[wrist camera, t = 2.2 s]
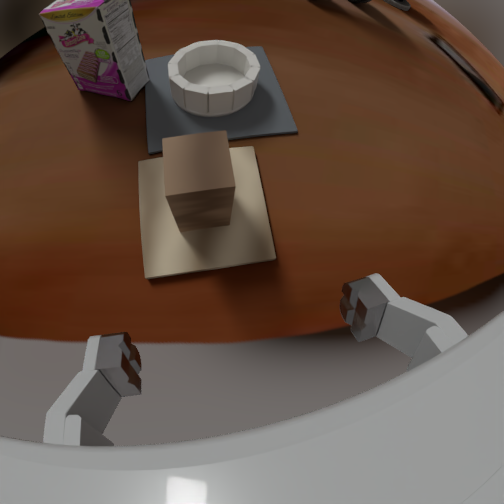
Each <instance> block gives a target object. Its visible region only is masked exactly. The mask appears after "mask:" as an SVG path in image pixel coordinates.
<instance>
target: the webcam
mask: <svg viewBox="0 0 504 504" xmlns="http://www.w3.org/2000/svg"><path fill="white" fill-rule="evenodd" d="M384 1H385V2H387V3H389V4H391V5H393V6H395V7H397V8H399V9H402V10H406V11H408V10H409V9H410V4H409V3H408V2H407V1H406V0H384Z"/></svg>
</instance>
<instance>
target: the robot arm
mask: <svg viewBox="0 0 504 504" xmlns="http://www.w3.org/2000/svg"><path fill="white" fill-rule="evenodd" d="M342 292H343V294H344V296H343V297H342V298H341V300H340V312H341V315H342V317H343V319H344V321H345V322H346V323H348V324H350V325H352V326H351V331H352V333H353V334H354V336H355V337H356V339H357V340H358V342H360V341H363V340H366V339H369V338H372V337H374V336H377V337H378V338H380V339H381V340H383V341H385V342H386V343H388V344H390V345H391V346H393V347H395V348H396V349H398V350H400V351H401V352H403V353H405V354H406V355H408V356H410V357H411V358H412V359H411V361H410V363H409V365H408V367H407V372H406V373H403V374H401V375H399V376H397V377H395V378H393V379H391V380H389V381H387V382H385V383H383V384H381V385H378V386H376V387H374V388H372V389H369V390H367V391H365V392H362V393H360V394H358V395H355V396H353V397H350V398H348V399H345V400H342V401H340V402H337V403H334V404H332V405H329V406H326V407H324V408H321V409H318V410H315V411H312V412H309V413H306V414H302V415H299V416H296V417H293V418H289V419H286V420H283V421H279V422H276V423H272V424H268V425H264V426H260V427H256V428H252V429H248V430H243V431H238V432H234V433H229V434H224V435H218V436H213V437H208V438H202V439H194V440H187V441H179V442H171V443H161V444H149V445H133V446H114V444H113V443H112V442H111V441H110V440H109V439H107V438H106V437H105V436H103V435H102V434H103V432H104V430H105V428H106V426H107V424H108V422H109V421H110V419H111V417H112V415H113V413H114V411H115V409H116V407H117V405H118V404H119V402H120V400H121V397H125V396H133V395H140V394H141V378H140V377H139V375H138V374H139V372H140V371H141V359H140V355H139V352H138V350H137V348H136V346H134V345H133V344H131V337H130V336H129V334H128V332H120V333H112V334H104V335H99V336H90V338H89V339H88V343H87V348H86V353H85V358H84V364H83V370H82V371H81V372H79V373H78V374H77V375H76V376H75V377H74V379H73V380H72V381H71V383H70V384H69V385H68V386H67V388H66V389H65V390H64V391H63V393H62V394H61V395H60V397H59V398H58V399H57V400H56V402H55V403H54V405H53V406H52V407H51V408H50V410H49V411H48V412H47V414H46V422H45V429H44V437H43V438H44V439H43V443H42V442H34V441H27V440H20V439H14V438H9V437H4V436H0V504H504V311H502V312H501V313H500V314H498V315H497V316H496V317H495V318H493V319H492V320H490V321H489V322H488V323H486V324H485V325H484V326H482V327H481V328H479V329H478V330H476V331H475V332H473V333H472V334H471V335H469V336H468V335H467V334H466V332H465V331H464V330H463V329H462V328H461V327H460V326H459V324H458V323H457V322H456V321H455V320H454V319H453V318H452V317H451V316H450V315H447V314H445V313H443V312H440V311H437V310H435V309H432V308H430V307H428V306H425V305H423V304H420V303H418V302H415V301H413V300H410V299H408V298H405V297H402V298H401V297H400V296H399V295H398V294H397V293H396V292H395V291H394V290H393V289H392V287H391V286H390V285H389V284H388V283H387V282H386V281H385V280H384V279H383V278H382V276H381V275H379V274H377V273H376V274H373V275H370V276H367V277H363V278H360V279H357V280H353V281H350V282H346V283H344V285H343V286H342Z"/></svg>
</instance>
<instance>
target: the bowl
mask: <svg viewBox="0 0 504 504" xmlns="http://www.w3.org/2000/svg"><path fill="white" fill-rule="evenodd" d="M259 72H260V64H259V62H258V60H257V57H256V55H255V54H254V53H253V52H252V51H250V50H248V49H247V48H245V47H244V46H242V45H241V44H240V45H239V44H238V43H233V42H228V41H223V40H219V41H218V40H210V41H201V42H198V43H193V44H191V45H189V46H187V47H184V48H182V49H180V50H179V51H177V52H176V54H175V55H174V56H173V57H172V59H171V60H170V61H169V62H168V73H169V82H170V88H171V95H172V98H173V100H174V102H175V103H176V104H177V105H178V106H179V107H180V108H181V109H182V110H184V111H186V112H188V113H190V114H193V115H196V116H202V117H221V116H226V115H230V114H233V113H235V112H237V111H239V110H241V109H243V108H244V107H245V106H246V105H248V104H249V102H250V101H251V100H252V98H253V95H254V91H255V89H256V87H257V82H258V77H259Z"/></svg>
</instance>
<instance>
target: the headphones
mask: <svg viewBox="0 0 504 504" xmlns="http://www.w3.org/2000/svg"><path fill="white" fill-rule="evenodd" d="M349 1H351V2H356V3H360V2H361V3H367V2H370V1H371V0H349Z"/></svg>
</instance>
